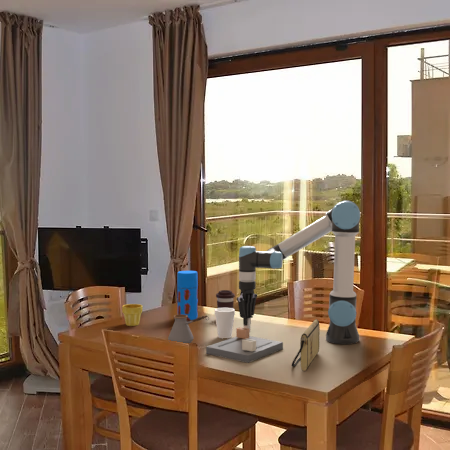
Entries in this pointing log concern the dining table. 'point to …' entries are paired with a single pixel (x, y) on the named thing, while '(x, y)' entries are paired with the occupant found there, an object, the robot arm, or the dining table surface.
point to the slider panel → (235, 352)
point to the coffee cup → (225, 299)
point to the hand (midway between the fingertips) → (247, 332)
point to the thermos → (187, 294)
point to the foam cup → (224, 321)
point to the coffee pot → (182, 329)
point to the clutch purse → (308, 345)
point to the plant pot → (132, 314)
